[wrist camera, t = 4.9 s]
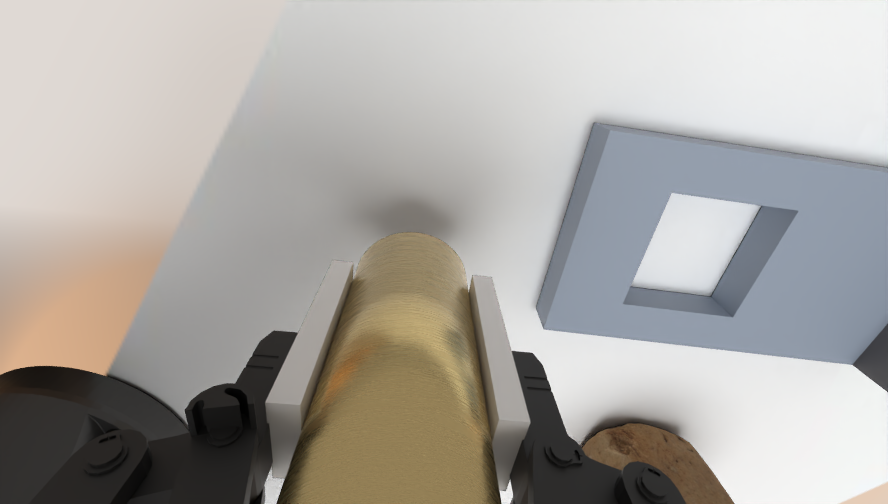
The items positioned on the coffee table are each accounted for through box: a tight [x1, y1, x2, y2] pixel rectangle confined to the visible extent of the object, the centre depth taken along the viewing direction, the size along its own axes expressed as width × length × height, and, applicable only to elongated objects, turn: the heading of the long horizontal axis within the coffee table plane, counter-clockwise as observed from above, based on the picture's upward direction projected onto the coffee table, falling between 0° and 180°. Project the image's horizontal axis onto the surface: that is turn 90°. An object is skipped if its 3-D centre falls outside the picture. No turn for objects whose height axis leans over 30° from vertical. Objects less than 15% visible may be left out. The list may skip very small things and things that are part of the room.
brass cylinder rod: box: [277, 232, 501, 504], centre depth 11 cm, size 5×5×12 cm
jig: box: [536, 123, 888, 392], centre depth 19 cm, size 22×11×6 cm, turn 82°
